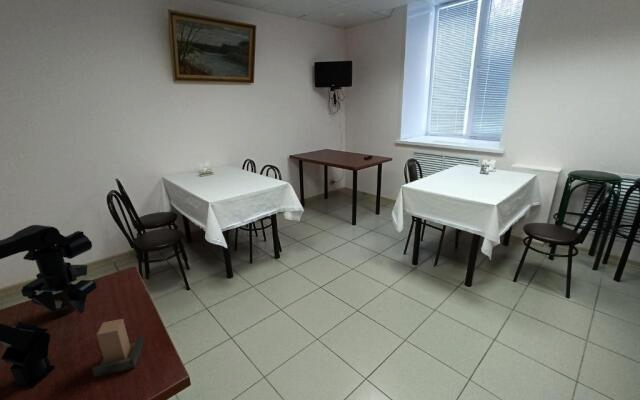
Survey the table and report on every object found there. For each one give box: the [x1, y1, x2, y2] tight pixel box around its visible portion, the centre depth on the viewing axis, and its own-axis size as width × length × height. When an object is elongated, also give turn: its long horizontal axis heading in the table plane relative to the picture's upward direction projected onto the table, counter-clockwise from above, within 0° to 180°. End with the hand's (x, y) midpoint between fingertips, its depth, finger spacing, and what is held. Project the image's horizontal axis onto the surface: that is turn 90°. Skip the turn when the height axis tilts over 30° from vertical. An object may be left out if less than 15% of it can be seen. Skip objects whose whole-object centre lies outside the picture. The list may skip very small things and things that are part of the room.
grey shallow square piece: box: [91, 334, 144, 378], centre depth 87 cm, size 10×10×3 cm
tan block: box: [96, 318, 131, 363], centre depth 86 cm, size 5×5×11 cm
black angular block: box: [31, 282, 76, 318], centre depth 107 cm, size 12×9×10 cm
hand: (67, 312), depth 89 cm, fingers open, 9 cm apart
